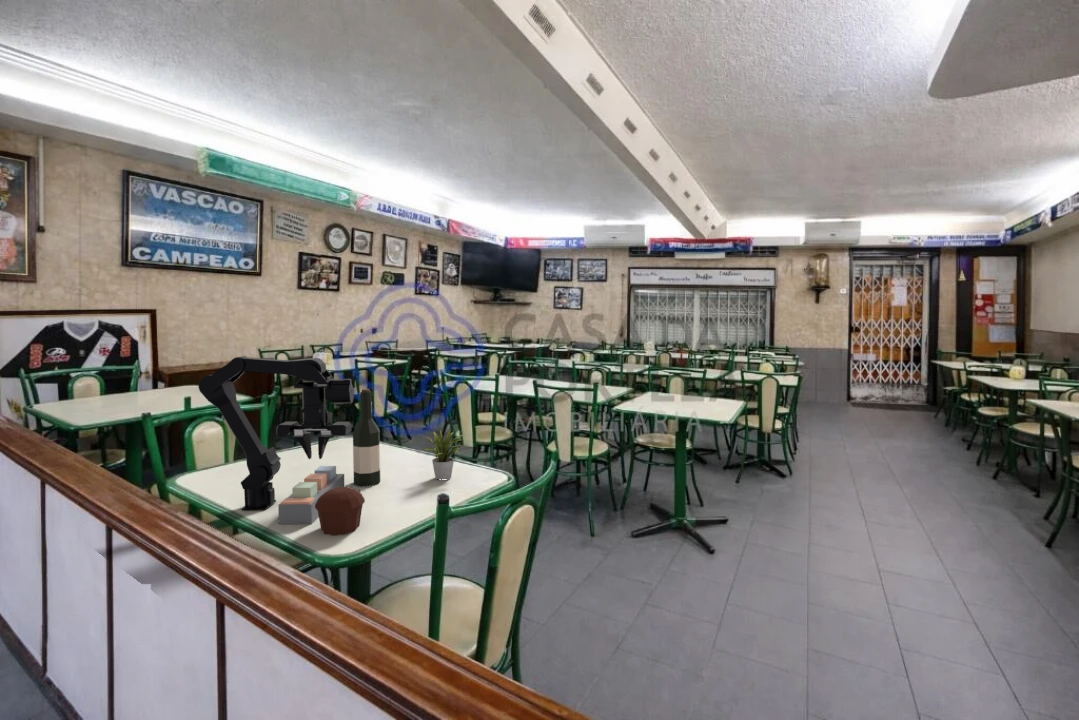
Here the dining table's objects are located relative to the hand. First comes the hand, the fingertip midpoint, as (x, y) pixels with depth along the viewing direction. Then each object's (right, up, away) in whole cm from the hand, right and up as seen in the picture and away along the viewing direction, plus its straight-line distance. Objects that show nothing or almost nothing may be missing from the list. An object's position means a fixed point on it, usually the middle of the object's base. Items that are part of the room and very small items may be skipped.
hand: (315, 458), depth 144 cm
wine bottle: (+8, -12, +20) cm, 24 cm away
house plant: (+32, -12, +24) cm, 41 cm away
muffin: (+13, -15, -15) cm, 25 cm away
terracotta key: (0, -8, +1) cm, 8 cm away
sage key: (0, -9, -7) cm, 11 cm away
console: (0, -13, 0) cm, 13 cm away
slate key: (-1, -8, +8) cm, 11 cm away
